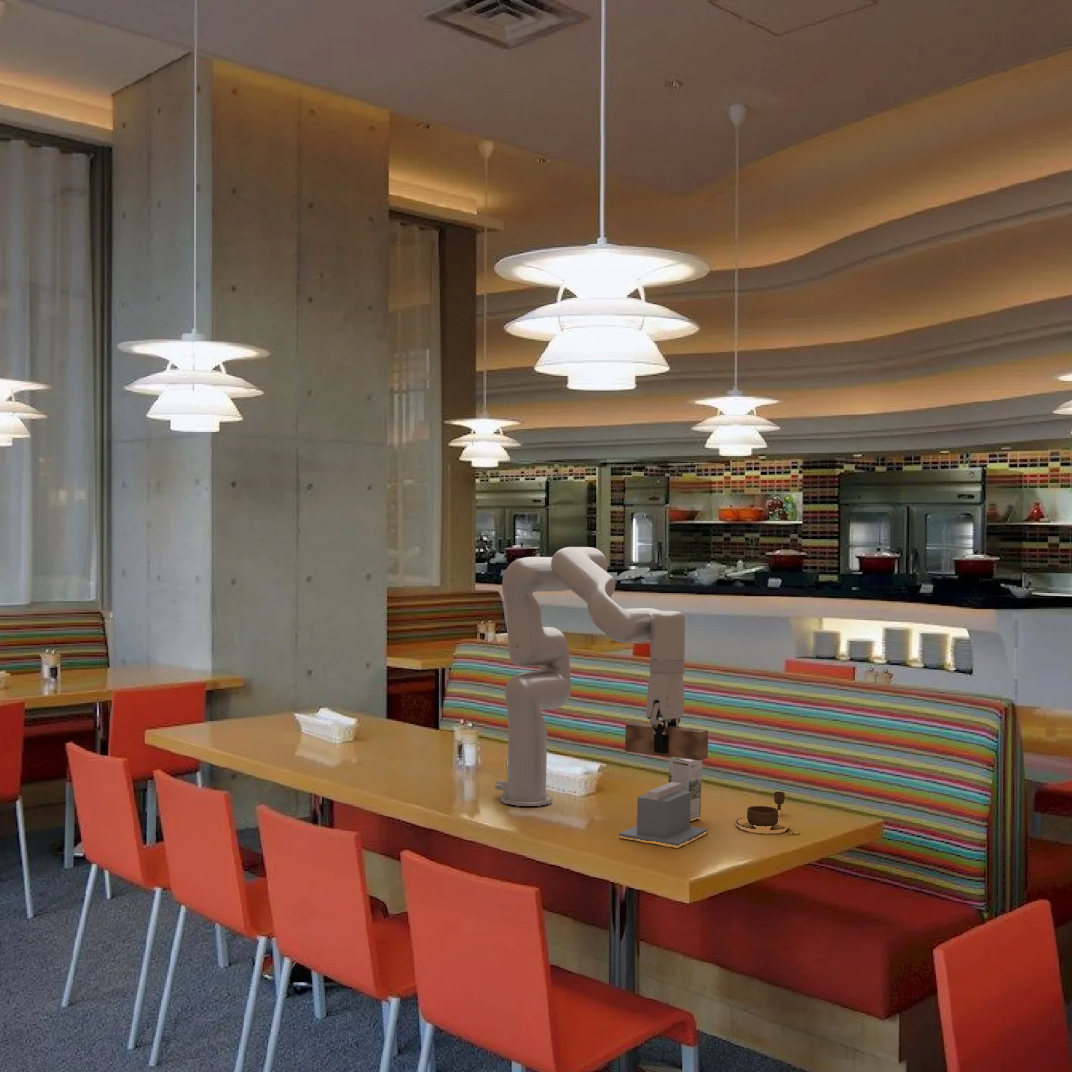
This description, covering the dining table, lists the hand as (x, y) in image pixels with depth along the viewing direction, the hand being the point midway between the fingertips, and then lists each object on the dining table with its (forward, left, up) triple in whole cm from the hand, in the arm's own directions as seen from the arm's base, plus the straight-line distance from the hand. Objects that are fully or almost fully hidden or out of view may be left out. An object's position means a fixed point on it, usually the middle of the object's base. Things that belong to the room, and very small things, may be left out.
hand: (665, 750), depth 258 cm
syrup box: (-3, +17, -19) cm, 26 cm away
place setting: (+16, +25, -20) cm, 35 cm away
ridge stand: (0, 0, -19) cm, 19 cm away
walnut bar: (0, 0, -1) cm, 1 cm away
